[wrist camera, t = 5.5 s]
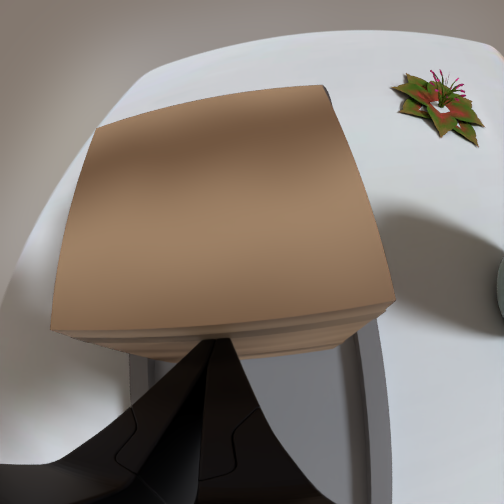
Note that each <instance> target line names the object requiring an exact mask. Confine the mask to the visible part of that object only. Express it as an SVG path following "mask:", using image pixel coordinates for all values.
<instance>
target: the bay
mask: <svg viewBox="0 0 504 504" xmlns="http://www.w3.org/2000/svg"><path fill="white" fill-rule="evenodd" d="M309 86H313V85H309ZM322 86H323V85H322ZM295 87H297V86H295ZM283 88H285V87H283ZM323 88H324V90H325V92H326V94H327V96H328V99H329V101H330V103H331V105H332V102H331V99H330V96H329V94H328V91H327V89H326V88H325V87H324V86H323ZM273 89H275V88H273ZM264 90H266V89H264ZM256 91H257V90H256ZM248 92H250V91H248ZM241 93H243V92H241ZM235 94H236V93H235ZM229 95H230V94H229ZM223 96H224V95H223ZM217 97H218V96H217ZM211 98H212V97H211ZM206 99H207V98H206ZM201 100H202V99H201ZM196 101H197V100H196ZM191 102H192V101H191ZM187 103H188V102H187ZM182 104H183V103H182ZM178 105H179V104H178ZM174 106H175V105H174ZM332 107H333V106H332ZM154 111H155V110H154ZM150 112H151V111H150ZM143 114H144V113H143ZM136 116H137V115H136ZM129 118H130V117H129ZM126 119H127V118H126ZM240 362H241V364H242V366H243V369H244V371H245V373H246V376H247V378H248V380H249V382H250V385H251V387H252V389H253V391H254V394H255V396H256V398H257V400H258V402H259V405H260V407H261V409H262V411H263V413H264V415H265V417H266V419H267V421H268V423H269V425H270V427H271V429H272V431H273V432H274V434H275V435H276V437H277V438H278V440H279V441H280V443H281V444H282V446H283V447H284V448H285V450H286V451H287V452H288V454H289V455H290V456H291V458H292V459H293V460H294V462H295V463H296V464H297V465H298V467H299V468H300V469H301V470H302V472H303V473H304V474H305V476H306V477H307V478H308V479H309V480H310V481H311V483H312V484H313V485H314V486H315V487H316V488H317V489H318V490H319V491H320V492H321V493H322V494H323V495H325V496H326V497H327V498H329V499H330V500H332V501H333V502H335V503H336V504H392V451H391V432H390V418H389V406H388V396H387V387H386V378H385V371H384V363H383V356H382V349H381V343H380V337H379V331H378V325H377V319H373V320H371V321H370V322H369V323H367V324H366V325H365V326H364V327H362V328H361V329H360V330H358V331H357V332H356V333H354V334H353V335H352V336H350V337H349V338H348V339H346V340H345V342H344V343H342V344H340V345H338V346H337V347H335V348H334V349H329V350H322V351H315V352H308V353H301V354H293V355H285V356H276V357H267V358H256V359H245V360H240ZM176 364H177V363H170V362H165V361H160V360H154V359H149V358H147V357H142V356H138V355H134V354H130V353H129V366H130V395H131V405H133V404H134V403H135V402H136V401H137V400H138V399H139V398H140V397H141V396H142V395H144V394H145V393H146V392H147V391H148V390H149V389H150V388H151V387H152V386H153V385H154V384H156V383H157V382H158V381H159V380H160V379H161V378H162V377H163V376H164V375H165V374H166V373H167V372H168V371H170V370H171V369H172V368H173V367H174V366H175V365H176Z"/></svg>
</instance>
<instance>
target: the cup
mask: <svg viewBox="0 0 504 504" xmlns="http://www.w3.org/2000/svg"><path fill="white" fill-rule="evenodd" d="M497 300H498V305H499V309H500V312H501V314H502V316H503V318H504V256H503V259H502V261H501V263H500V267H499V271H498V275H497Z"/></svg>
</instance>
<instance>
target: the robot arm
mask: <svg viewBox="0 0 504 504" xmlns="http://www.w3.org/2000/svg"><path fill="white" fill-rule="evenodd" d="M0 504H336V503H335V502H333V501H332V500H330V499H329V498H327V497H326V496H325V495H323V494H322V493H321V492H320V491H319V490H318V489H317V488H316V487H315V486H314V485H313V484H312V483H311V481H310V480H309V479H308V478H307V477H306V476H305V474H304V473H303V472H302V470H301V469H300V468H299V467H298V465H297V464H296V463H295V462H294V460H293V459H292V458H291V456H290V455H289V454H288V452H287V451H286V450H285V448H284V447H283V446H282V444H281V443H280V441H279V440H278V438H277V437H276V435H275V434H274V432H273V431H272V429H271V427H270V425H269V423H268V421H267V419H266V417H265V415H264V413H263V411H262V409H261V407H260V405H259V402H258V400H257V398H256V396H255V394H254V391H253V389H252V387H251V385H250V382H249V380H248V378H247V376H246V373H245V371H244V369H243V366H242V364H241V362H240V360H239V357H238V355H237V352H236V350H235V348H234V345H233V343H232V341H231V339H230V338H218V339H217V340H216V339H204V340H201V341H200V342H199V343H198V344H197V345H196V346H195V347H194V348H193V349H192V350H191V351H190V352H189V353H188V354H187V355H186V356H184V357H183V358H182V359H181V360H180V361H179V362H178V363H177V364H176V365H175V366H174V367H173V368H172V369H171V370H170V371H168V372H167V373H166V374H165V375H164V376H163V377H162V378H161V379H160V380H159V381H158V382H157V383H156V384H154V385H153V386H152V387H151V388H150V389H149V390H148V391H147V392H146V393H145V394H144V395H142V396H141V397H140V398H139V399H138V400H137V401H136V402H135V403H134V404H133V405H131V407H129V408H128V409H127V410H126V411H125V412H124V413H122V414H121V415H120V416H119V417H118V418H117V419H115V420H114V421H113V422H112V423H111V424H109V425H108V426H107V427H106V428H104V429H103V430H102V431H100V432H99V433H98V434H96V435H95V436H94V437H92V438H91V439H89V440H88V441H86V442H85V443H84V444H82V445H81V446H79V447H78V448H76V449H75V450H73V451H72V452H70V453H69V454H68V455H66V456H65V457H63V458H61V459H59V460H57V461H55V462H52V463H48V464H41V465H16V464H0Z"/></svg>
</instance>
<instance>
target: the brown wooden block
mask: <svg viewBox="0 0 504 504" xmlns="http://www.w3.org/2000/svg"><path fill="white" fill-rule="evenodd" d="M395 301H396V297H395V293H394V288H393V284H392V280H391V276H390V272H389V268H388V264H387V260H386V256H385V252H384V249H383V245H382V241H381V238H380V235H379V231H378V228H377V224H376V221H375V218H374V215H373V212H372V208H371V205H370V202H369V199H368V196H367V193H366V190H365V187H364V185H363V182H362V179H361V176H360V173H359V171H358V168H357V165H356V163H355V160H354V157H353V155H352V152H351V150H350V147H349V145H348V142H347V140H346V137H345V135H344V132H343V130H342V128H341V125H340V123H339V121H338V118H337V116H336V114H335V112H334V109H333V107H332V105H331V103H330V101H329V99H328V96H327V94H326V92H325V90H324V88H323V86H322V85H313V86H297V87H285V88H275V89H266V90H257V91H250V92H243V93H236V94H230V95H224V96H218V97H212V98H207V99H202V100H197V101H192V102H188V103H183V104H179V105H175V106H170V107H166V108H162V109H158V110H155V111H151V112H147V113H144V114H140V115H137V116H133V117H130V118H127V119H123V120H120V121H117V122H114V123H111V124H108V125H105V126H102V127H99V128H96V131H95V133H94V136H93V138H92V141H91V144H90V146H89V149H88V152H87V155H86V158H85V161H84V164H83V167H82V170H81V173H80V176H79V179H78V182H77V186H76V189H75V193H74V196H73V200H72V203H71V207H70V211H69V215H68V219H67V223H66V228H65V232H64V237H63V241H62V246H61V251H60V257H59V262H58V268H57V274H56V281H55V288H54V296H53V304H52V314H51V325H50V330H52V331H55V332H58V333H61V334H64V335H67V336H70V337H71V338H74V339H78V340H81V341H84V342H87V343H93V344H96V345H100V346H103V347H107V348H111V349H114V350H118V351H122V352H126V353H130V354H134V355H138V356H142V357H147V358H149V359H154V360H160V361H165V362H170V363H178V362H179V361H180V360H181V359H182V358H183V357H184V356H186V355H187V354H188V353H189V352H190V351H191V350H192V349H193V348H194V347H195V346H196V345H197V344H198V343H199V342H200V341H201V340H204V339H216V340H217V339H218V338H230V339H231V341H232V343H233V345H234V348H235V350H236V352H237V355H238V357H239V360H245V359H256V358H267V357H276V356H285V355H293V354H301V353H308V352H315V351H322V350H329V349H334V348H335V347H337V346H338V345H340V344H342V343H344V342H345V340H346V339H348V338H349V337H350V336H352V335H353V334H354V333H356V332H357V331H358V330H360V329H361V328H362V327H364V326H365V325H366V324H367V323H369V322H370V321H371V320H373V319H376V318H377V317H379V316H380V315H381V314H383V313H384V312H385V311H386V310H385V309H386V308H387V307H389V306H390V305H391V304H392V303H393V302H395Z"/></svg>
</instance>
